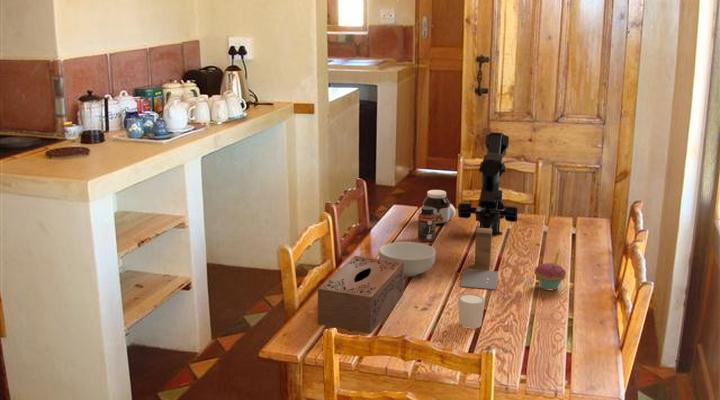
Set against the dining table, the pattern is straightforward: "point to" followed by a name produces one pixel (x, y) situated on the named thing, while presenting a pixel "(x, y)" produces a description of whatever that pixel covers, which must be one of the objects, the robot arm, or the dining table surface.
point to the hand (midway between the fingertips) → (485, 235)
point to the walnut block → (483, 249)
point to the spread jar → (439, 206)
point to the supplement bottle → (426, 224)
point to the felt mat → (479, 279)
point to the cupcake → (550, 274)
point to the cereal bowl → (409, 256)
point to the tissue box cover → (360, 294)
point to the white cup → (471, 310)
